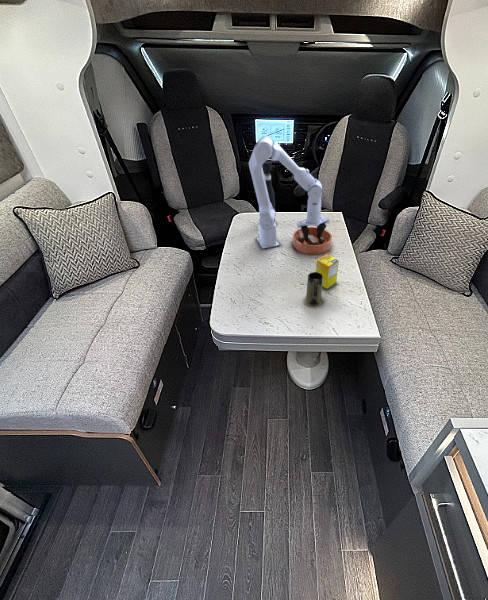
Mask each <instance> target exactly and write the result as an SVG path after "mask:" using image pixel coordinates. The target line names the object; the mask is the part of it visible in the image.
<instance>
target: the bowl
mask: <svg viewBox="0 0 488 600" xmlns="http://www.w3.org/2000/svg"><path fill="white" fill-rule="evenodd" d="M307 227H308V229H309V233H308V235H313V236H314V238H315V239H316V240H317V241H318V238H317V226H307ZM300 236H303V237H304V235H303V232H302V229H301V228H297V230H295V231H294V232H293V234H292V245H293V248H294V249H295V250H296V251H298V252H300V253H303V254H305V255H320V254H321V255H322V254H324V253H326V252H328V251H329V250H330V249H331V247H332V241H333V235H332V234H331V232H330V231H328V230H327V229H326V228H325V229H324V231H323V233H322V235H321V237H323V238H324V239H325V242H324V243H323V244H320V243H319V242H318V245H310V244H309V243H308V242H306V241H305V240H304V242H303V243H300V242H299V241H298V238H299V237H300Z"/></svg>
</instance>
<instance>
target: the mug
mask: <svg viewBox="0 0 488 600" xmlns="http://www.w3.org/2000/svg"><path fill="white" fill-rule="evenodd" d="M322 279H323V276H322V274H320V273H318V272H316V271H311V272H310V273H308V275H307V283H306V295H305V303H306V304H307V305H308V306H309V307H318V306H320V305H321V304H322V292H323V288H322Z"/></svg>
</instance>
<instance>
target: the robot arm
mask: <svg viewBox="0 0 488 600" xmlns="http://www.w3.org/2000/svg"><path fill="white" fill-rule="evenodd" d="M269 160H270V161H271V162H272V161H273V162H275V161H276V162H277V161H278V162H280V163H281V164H282V165H283V166H284V167H285V168H286V169H287V170H288V171H290V173H291V174H293V180H294V181H295V182H296V183H297V184H298V185H299V186H300V187H301V188H302V189H303V190H304V191H306V192H307V196H308V198H307V205H306V207H307V208H306V218H305V219H303V220H300V221H297V222H296V227H297V229H302V232H303V235H304V240H305V241H306V242H308V233H309V229H308V227H311V226H313V227H317V238H318V239H320V238H321V235H322V233H323V231H324V229H325V230H326V228H327V224H330V218H329V217H327V216H326V217H325V216H324V217H321V215H322V196H323V194H324V193H323V185H322V183H321V181H320V180H318V179H317V178H316V177H314V176H313V175H312V174H311V173H310V170H309V169H308V168H305V167H300V166H299V165H297V163H296V162H295V161H294V160H293V159H292V158H291V157H290V155H289V154H288V153H287V152H286V151H285V150H284V149H283V147H281V145H280V144H279V143H278V142H276V141H274V139H273V138H272V137H271V136H270V135H263V136H262V137H260V138H259V140H258V141H257V142H256V143H255V146H254V148H253V150H252V153H251V155H250V158H249V161H248V167H249V171H250V175H251V180H252V184H253V188H254V192H255V196H256V199H257V203H258V215H259V220H258V226H257V230H258V237H257V238H256V240H257V242H258V244H259V245H260V246H261V249H269V248H274V247H279V246H280V243H279V242H278V240H277V222H276V215H277V212H276V209H275V210H274V209H273V207H272V204H271V202H270V199H269V195H268V190H267V186H266V182H265V177H264V175H265V174H264V170H263V163H264V162H265V161H269ZM274 219H275V221H274Z"/></svg>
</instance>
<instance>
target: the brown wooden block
mask: <svg viewBox="0 0 488 600" xmlns="http://www.w3.org/2000/svg"><path fill="white" fill-rule="evenodd" d="M308 243H309V244H310V245H318V241H317V240H316V239H315V238H314V236H313V235H308Z"/></svg>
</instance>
